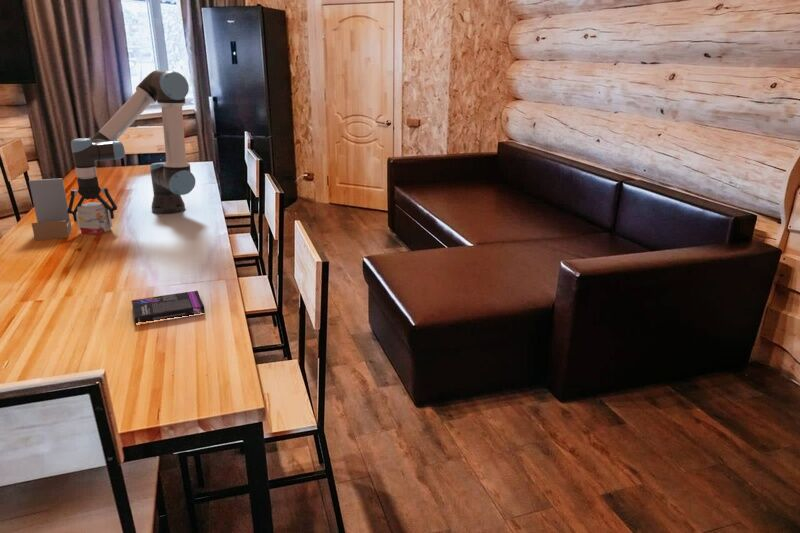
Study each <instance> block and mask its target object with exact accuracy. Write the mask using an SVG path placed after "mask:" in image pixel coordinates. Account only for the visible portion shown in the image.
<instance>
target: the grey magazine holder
mask: <svg viewBox="0 0 800 533" xmlns="http://www.w3.org/2000/svg"><path fill="white" fill-rule="evenodd" d="M63 180H64V179H63V178H62V177H61V178H46V179H45V178H44V179H29V180H28V184H29V189H30V193H31V198H32V202H33V203H32V204H33V207H34V213H35V217H36V222H32V223H31V228H32V233H33V238H34V241H45V240H55V239H54V238H57V239H66V238H69V237H70V234H71V232H72V229H73V228H72V227H73V226H72V223H71V218H70V214H69V213H67V211H68V207H69V204H68V201H67V197H66V191H65V185H64V181H63Z"/></svg>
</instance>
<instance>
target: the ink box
mask: <svg viewBox="0 0 800 533" xmlns="http://www.w3.org/2000/svg"><path fill="white" fill-rule="evenodd" d="M77 210H78V211H77V213H78V217H79V223H80V229H81V230H80V233H81V234H83V235H84V234H85V235H99V236H100V235H101V234H104V233H106V232H108V231H111V230H112V227H110V222H109V216H108V211H109V210H108V209H107V208H106V207H105V206H104V205H103V204H102V203H101V202H95V201H94V202H93V201H89V202H86V203H84V204H83V203H82V204H81V206H78V207H77Z"/></svg>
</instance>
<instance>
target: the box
mask: <svg viewBox="0 0 800 533" xmlns="http://www.w3.org/2000/svg"><path fill="white" fill-rule="evenodd" d="M130 302H131V305H132V312H133V321H134V324H135V323H138V322H146V321H154V320H160V319H167V318H174V317H182V316H189V315H194V314H200V313H205V314H206V311H205V305H204V303H203V301H202V298H201V296H200V294H199V291H198V290H191V291H185V292H179V293H172V294H165V295H158V296H157V295H156V296H152V297H143V298H138V299H132V300H131V301H130Z"/></svg>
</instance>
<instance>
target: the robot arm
mask: <svg viewBox="0 0 800 533" xmlns="http://www.w3.org/2000/svg"><path fill="white" fill-rule="evenodd" d="M188 93H189V83H188V80H187V79H186V77H185V76H184V75H183V74H181V73H180V72H177V71H175V70H163V69H156V70H154V71H151V72H150V73H149V74H147V75H146V76H145V77H144V78H143V79H142V81H141V82H140V83H139V84H138V85H137V86H136V87H135V92H134V93H133V94H132V95H131V96H130V97H129V98H128V99H127V100H126V102H125V103H124V104H123V105H122V106H121V107H120V108H119V109H118V110H116V112H115V113H114V114H113V115H112V116H111V118H109V120H108V121H107V122H106V123H105V124H104V125H103V126H102V127H101V128H100V129H99V130H98V131H97V133H96V134H95V135H93V136H90V137H87V138H85V137H84V138H81V137H80V138H75V139H74V138H73V139H72V140H71V142H70V146H71V153H72V156H73V162H74V170H75V176H76V177H77V178H76V180H77V185H78V186H77V187H78V189H71V190H70V196H71V197H70V198H69V199H70V201H69V204H68V211H67V213H69V215H72V217H73V221H74V223H76V224H77V228H78V230H79V231H81V229H80V223H79V217H78V210H77V207H78V206H81V205H83V202H84V201H85V200H87V201H88V200H95V199H96V200H97V201H98V202H99V203H102V204H103V205H104V206H105V207H106V208H107V209H108V216H109V222H110V227H111V228H112V227H113V221H112V220H113V219H115V214H114V212H115V211H116V210H118V206H117V204H116V203H115V201H114V199H113V198H112V196H111V194H110V193H109V188H108V187H103V188H101V187H100V185H99V178H98V174H97V173H98V172H97V167H96V162H103V161H111V160H112V161H114V160H120V159H123V158H124V157H125V155H126V154H125V152H126V151H125V147H124V145H123V143H122V141H120V140H118V139H120V137H121V136H122V135H123V134H124V132H126V131H127V130H128V128H130V126H132V124H133V123H134V122H135V121H136V120H137V119H138V117H139V116H141V114H142V113H144V111H145V110H146V109H147V108H148V107H149V106H150V105H152V104H155V103H157V104H158V105H159V106H160V107H161V108H160V109H161V118H162V128H163V129H162V130H163V140H164V150H165V151H164V152H165V161H162V162H153V163H151V164H150V166H149V168H150V169H149V170H150V171H149V172H150V178H151V184H152V191H153V192H152V193H153V197H152V202H151V212H152V213H156V214H175V213H179V212H182V210H183V211H185V209H186V204H185V202H184V200H183V198H182V196H185V195H188V194H190V193H191V192H192V191H193V190H194V188H195V187H196V177H195V175H194V174H193V173H192V171H191V163H189V162H188V161H187V153H186V140H185V128H184V127H185V126H184V118H183V117H184V116H183V106H185V104H186V97H187V95H188ZM101 192H102V194H104V195H105V197H106V198H107V200H108V201H109V203H110V204H109V203H108V202H107V201H106V200H105V199H104V198H103V197H102V196H101V195H100V193H101ZM78 194H79V195H80V196H81V197H80V199H79V201H78V202H77V204H76V206H75V207H74V209H73V206H74V201H75V197H76V196H77V195H78Z"/></svg>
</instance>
